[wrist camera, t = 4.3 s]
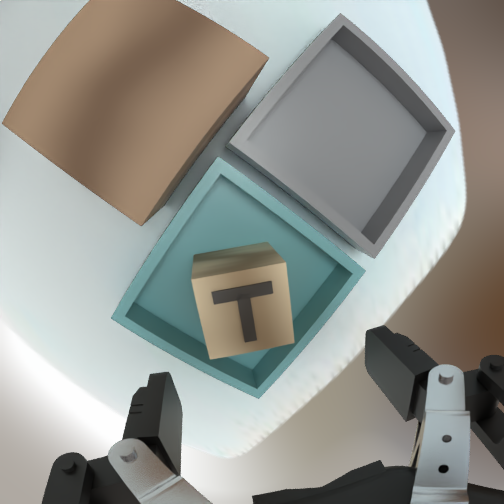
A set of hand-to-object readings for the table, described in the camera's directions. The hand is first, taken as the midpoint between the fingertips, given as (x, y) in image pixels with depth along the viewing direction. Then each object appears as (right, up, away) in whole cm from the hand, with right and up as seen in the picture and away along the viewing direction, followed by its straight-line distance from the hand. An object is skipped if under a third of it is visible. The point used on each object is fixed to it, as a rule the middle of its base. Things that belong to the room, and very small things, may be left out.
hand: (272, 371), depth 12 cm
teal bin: (-2, +3, +11) cm, 11 cm away
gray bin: (+6, +13, +9) cm, 17 cm away
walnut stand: (-8, +14, +7) cm, 17 cm away
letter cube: (-2, +3, +10) cm, 11 cm away
